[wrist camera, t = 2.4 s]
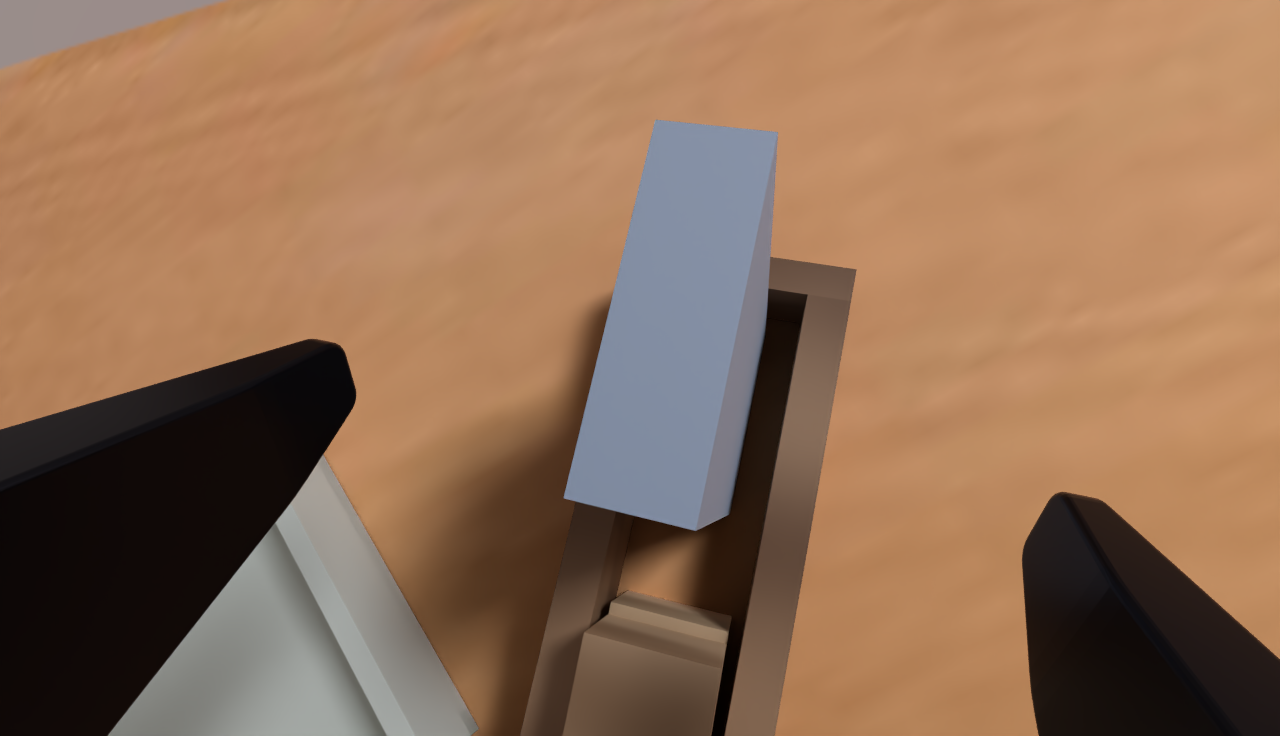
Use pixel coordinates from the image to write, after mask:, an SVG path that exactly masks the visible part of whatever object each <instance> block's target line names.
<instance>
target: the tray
mask: <svg viewBox="0 0 1280 736" xmlns="http://www.w3.org/2000/svg"><path fill="white" fill-rule="evenodd" d="M478 729H479V728H478V726H477V724H476V722H475V721H474V719H473V717H472V715H471V714H470V712H469V710H468V708H467V707H466V705H465V703H464V701H463V700H462V698H461V696H460V694H459V693H458V691H457V689H456V687H455V686H454V684H453V682H452V680H451V679H450V677H449V675H448V673H447V672H446V670H445V668H444V666H443V665H442V663H441V661H440V659H439V658H438V656H437V654H436V652H435V650H434V649H433V647H432V645H431V643H430V642H429V640H428V638H427V636H426V635H425V633H424V631H423V629H422V628H421V626H420V624H419V622H418V621H417V619H416V617H415V615H414V614H413V612H412V610H411V608H410V607H409V605H408V603H407V601H406V600H405V598H404V596H403V594H402V593H401V591H400V589H399V587H398V585H397V584H396V582H395V580H394V578H393V577H392V575H391V573H390V571H389V570H388V568H387V566H386V564H385V563H384V561H383V559H382V557H381V556H380V554H379V552H378V550H377V549H376V547H375V545H374V543H373V542H372V540H371V538H370V536H369V535H368V533H367V531H366V529H365V528H364V526H363V524H362V522H361V521H360V519H359V517H358V515H357V513H356V512H355V510H354V508H353V506H352V505H351V503H350V501H349V499H348V498H347V496H346V494H345V492H344V491H343V489H342V487H341V485H340V484H339V482H338V480H337V478H336V477H335V475H334V473H333V471H332V470H331V468H330V466H329V464H328V463H327V461H326V459H325V457H324V456H322V457H321V459H320V460H319V462H318V463H317V465H316V466H315V468H314V470H313V471H312V473H311V474H310V476H309V477H308V479H307V480H306V482H305V483H304V485H303V486H302V488H301V489H300V491H299V492H298V494H297V495H296V497H295V498H294V499H293V501H292V502H291V503H290V505H289V506H288V507H287V509H286V510H285V511H284V512H283V514H282V515H281V516H280V518H279V519H278V520H277V521H276V523H275V524H274V525H273V526H272V528H271V529H270V530H269V532H268V533H267V534H266V535H265V537H264V538H263V539H262V540H261V542H260V543H259V544H258V545H257V547H256V548H255V549H254V551H253V552H252V553H251V554H250V556H249V557H248V558H247V559H246V561H245V562H244V563H243V565H242V566H241V567H240V568H239V570H238V571H237V572H236V573H235V575H234V576H233V577H232V579H231V580H230V581H229V582H228V584H227V585H226V586H225V587H224V589H223V590H222V591H221V593H220V594H219V595H218V596H217V598H216V599H215V600H214V601H213V603H212V604H211V605H210V606H209V608H208V609H207V610H206V612H205V613H204V614H203V615H202V617H201V618H200V619H199V620H198V622H197V623H196V624H195V626H194V627H193V628H192V629H191V631H190V632H189V633H188V634H187V636H186V637H185V638H184V640H183V641H182V642H181V643H180V645H179V646H178V647H177V648H176V650H175V651H174V652H173V654H172V655H171V656H170V657H169V659H168V660H167V661H166V662H165V664H164V665H163V666H162V667H161V669H160V670H159V671H158V673H157V674H156V675H155V676H154V678H153V679H152V680H151V681H150V683H149V684H148V685H147V687H146V688H145V689H144V690H143V692H142V693H141V694H140V695H139V697H138V698H137V699H136V701H135V702H134V703H133V704H132V706H131V707H130V708H129V709H128V711H127V712H126V713H125V715H124V716H123V717H122V718H121V720H120V721H119V722H118V723H117V725H116V726H115V727H114V728H113V730H112V731H111V732H110V734H109V735H108V736H471V735H472V734H473V733H474V732H476V731H477V730H478Z"/></svg>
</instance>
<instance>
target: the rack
mask: <svg viewBox="0 0 1280 736" xmlns="http://www.w3.org/2000/svg"><path fill="white" fill-rule="evenodd" d="M855 275H856V269H849V268H842V267H835V266H829V265H822V264H815V263H808V262H801V261H794V260H787V259H780V258H773V257H770V269H769V285H768V302H767V318H772V319H778V320H784V321H790V322H796V323H800V329H799V334H798V339H797V345H796V350H795V355H794V360H793V366H792V371H791V376H790V382H789V387H788V392H787V398H786V403H785V408H784V413H783V419H782V424H781V429H780V435H779V440H778V445H777V450H776V456H775V461H774V466H773V472H772V477H771V482H770V488H769V493H768V498H767V503H766V509H765V514H764V519H763V525H762V530H761V535H760V540H759V546H758V551H757V556H756V562H755V567H754V572H753V578H752V583H751V588H750V593H749V599H748V604H747V609H746V615H745V620H744V625H743V630H742V636H741V641H740V646H739V652H738V657H737V662H736V668H735V673H734V678H733V683H732V689H731V694H730V699H729V705H728V710H727V715H726V721H725V726H724V731H723V736H775V730H776V724H777V719H778V713H779V707H780V701H781V696H782V690H783V684H784V679H785V673H786V667H787V662H788V656H789V650H790V645H791V639H792V633H793V628H794V622H795V616H796V610H797V605H798V599H799V593H800V588H801V582H802V576H803V571H804V565H805V559H806V554H807V548H808V542H809V537H810V531H811V525H812V520H813V514H814V508H815V502H816V497H817V491H818V485H819V480H820V474H821V468H822V463H823V457H824V451H825V446H826V440H827V434H828V429H829V423H830V417H831V411H832V406H833V400H834V394H835V389H836V383H837V377H838V372H839V366H840V360H841V355H842V349H843V343H844V338H845V332H846V326H847V321H848V315H849V309H850V303H851V298H852V292H853V286H854V281H855ZM633 519H634V516H633V515H629V514H625V513H621V512H617V511H613V510H609V509H605V508H601V507H597V506H593V505H589V504H584V503H580V502H576V504H575V508H574V512H573V516H572V521H571V525H570V529H569V533H568V537H567V541H566V546H565V550H564V554H563V558H562V562H561V566H560V571H559V575H558V579H557V583H556V587H555V591H554V596H553V600H552V604H551V608H550V612H549V617H548V621H547V625H546V629H545V633H544V637H543V642H542V646H541V650H540V654H539V658H538V662H537V667H536V671H535V675H534V679H533V683H532V687H531V692H530V696H529V700H528V704H527V708H526V713H525V717H524V721H523V725H522V729H521V733H520V736H563V731H564V727H565V722H566V717H567V712H568V707H569V702H570V697H571V693H572V688H573V683H574V678H575V673H576V668H577V664H578V659H579V654H580V649H581V644H582V639H583V634H584V632H585V631H586V630H588V629H589V628H590V627H592V626H593V625H594V624H596V623H597V622H599V621H600V620H601V619H603V618H604V617H605V616H607V615H608V614H609V609H610V604H611V602H612V601H613V600H615V599H616V595H617V590H618V586H619V581H620V577H621V572H622V568H623V563H624V559H625V555H626V550H627V546H628V541H629V537H630V532H631V528H632V523H633Z"/></svg>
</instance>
